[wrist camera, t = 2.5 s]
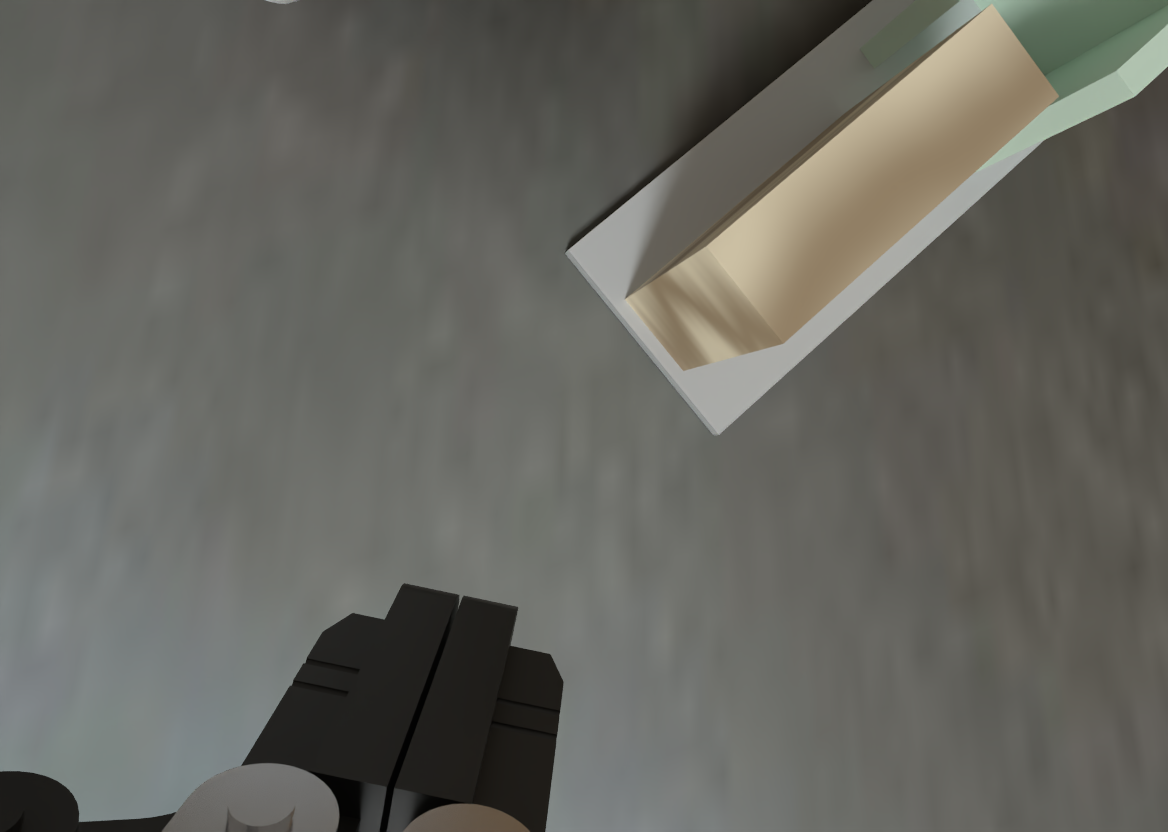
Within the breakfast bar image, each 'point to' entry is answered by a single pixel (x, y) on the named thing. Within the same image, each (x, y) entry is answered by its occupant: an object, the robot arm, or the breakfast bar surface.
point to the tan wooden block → (845, 198)
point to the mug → (282, 1)
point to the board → (735, 169)
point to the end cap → (1061, 52)
